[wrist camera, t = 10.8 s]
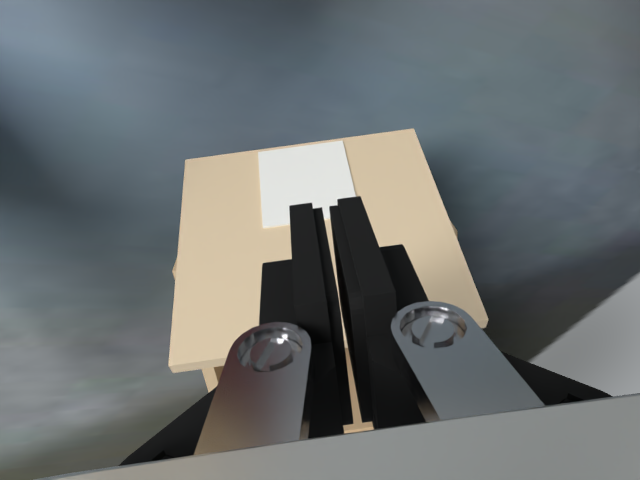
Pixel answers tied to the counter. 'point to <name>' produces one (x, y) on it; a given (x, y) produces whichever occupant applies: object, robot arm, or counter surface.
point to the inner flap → (275, 237)
